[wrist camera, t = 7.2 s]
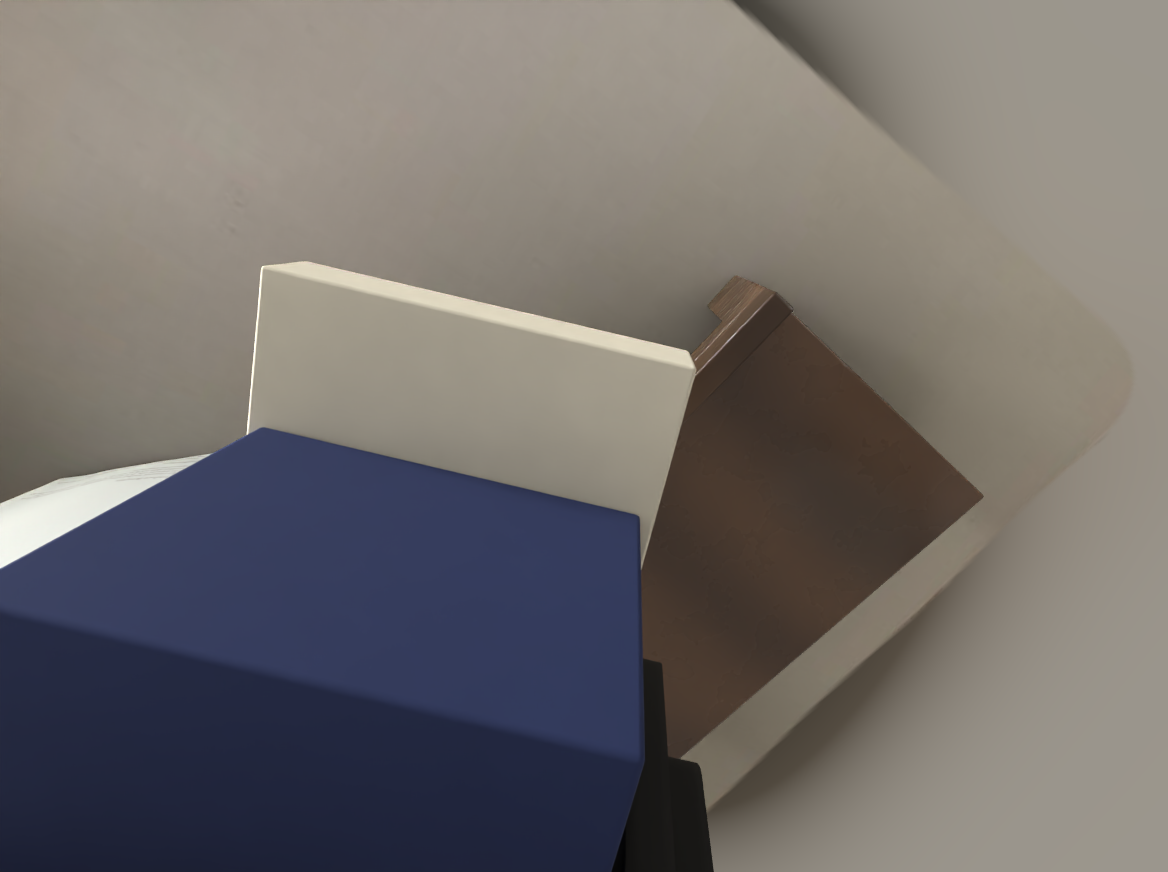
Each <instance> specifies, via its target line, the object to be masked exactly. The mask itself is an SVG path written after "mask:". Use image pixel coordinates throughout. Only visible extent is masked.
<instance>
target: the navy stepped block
mask: <svg viewBox="0 0 1168 872" xmlns="http://www.w3.org/2000/svg"><path fill="white" fill-rule="evenodd" d="M695 374H696V367H695V365H694V362H693V360H692V358H691V356H690V353H689V352H688V351H687V350H682V349H678V348H674V347H669V346H665V345H661V344H657V343H652V342H648V341H644V340H640V339H635V338H631V337H627V336H623V335H618V334H614V333H610V332H606V331H601V330H597V329H593V328H589V327H584V326H580V325H576V324H572V323H567V322H563V321H559V320H554V319H550V318H546V317H542V316H537V315H533V314H529V313H525V312H520V311H516V310H512V309H508V308H503V307H499V306H495V305H491V304H486V303H482V302H478V301H474V300H469V299H465V298H461V297H457V296H452V295H448V294H444V293H439V292H435V291H431V290H427V289H422V288H418V287H414V286H410V285H405V284H401V283H397V282H393V281H388V280H384V279H380V278H376V277H371V276H367V275H363V274H359V273H354V272H350V271H346V270H342V269H337V268H333V267H329V266H324V265H320V264H316V263H312V262H307V261H303V262H294V263H284V264H275V265H266V266H263V267H262V269H261V277H260V289H259V300H258V311H257V323H256V334H255V346H254V357H253V369H252V380H251V391H250V403H249V414H248V426H247V435H246V436H244V437H242V438H240V439H238V440H236V441H235V442H233V443H231V444H229V445H227V446H225V447H224V448H222V449H220V450H218V451H216V452H214V453H213V454H211V455H209V456H207V457H205V458H203V459H201V460H200V461H198V462H196V463H194V464H192V465H190V466H189V467H187V468H185V469H183V470H181V471H179V472H177V473H176V474H174V475H172V476H170V477H168V478H166V479H165V480H163V481H161V482H159V483H157V484H155V485H153V486H152V487H150V488H148V489H146V490H144V491H142V492H141V493H139V494H137V495H135V496H133V497H131V498H129V499H128V500H126V501H124V502H122V503H120V504H118V505H117V506H115V507H113V508H111V509H109V510H107V511H105V512H104V513H102V514H100V515H98V516H96V517H94V518H93V519H91V520H89V521H87V522H85V523H83V524H81V525H80V526H78V527H76V528H74V529H72V530H70V531H69V532H67V533H65V534H63V535H61V536H59V537H57V538H56V539H54V540H52V541H50V542H48V543H46V544H45V545H43V546H41V547H39V548H37V549H35V550H33V551H32V552H30V553H28V554H26V555H24V556H22V557H21V558H19V559H17V560H15V561H13V562H11V563H9V564H8V565H6V566H4V567H2V568H0V872H611V871H612V868H613V865H614V861H615V858H616V855H617V851H618V848H619V845H620V842H621V838H622V835H623V832H624V828H625V825H626V822H627V819H628V815H629V812H630V809H631V805H632V802H633V799H634V796H635V792H636V789H637V786H638V782H639V779H640V776H641V773H642V769H643V766H644V763H645V733H644V686H643V639H642V592H641V569H642V566H643V562H644V558H645V555H646V551H647V548H648V544H649V540H650V537H651V533H652V529H653V526H654V522H655V519H656V515H657V511H658V508H659V504H660V500H661V497H662V493H663V490H664V486H665V482H666V479H667V475H668V471H669V468H670V464H671V461H672V457H673V453H674V450H675V446H676V442H677V439H678V435H679V432H680V428H681V424H682V421H683V417H684V413H685V410H686V406H687V403H688V399H689V395H690V392H691V388H692V384H693V381H694V377H695Z"/></svg>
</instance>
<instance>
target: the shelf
mask: <svg viewBox="0 0 1168 872" xmlns="http://www.w3.org/2000/svg"><path fill="white" fill-rule="evenodd" d="M707 306H708V308H709V309H710V310H711V311H712V312H713V313H714V314H716V315H717V316H718V317H719V318H720V319H721V320H722V323H721V324H720V325H719V326H718V327H717V328H716V329H715V330H714V331H713V332H712V333H711V334H710V335H709V336H708V337H707V338H706V339H705V340H704V341H703V343H702V344H701V345H700V346H699V347H698V348H697V349H696V350H695V351H694V352H693V353H692V354H691V355H690V356H691V358H692V360H693V362H694V365H695V367H696V374H695V377H694V381H693V384H692V388H691V392H690V395H689V399H688V403H687V406H686V410H685V413H684V417H683V421H682V424H681V428H680V432H679V435H678V439H677V442H676V446H675V450H674V453H673V457H672V461H671V464H670V468H669V471H668V475H667V479H666V482H665V486H664V490H663V493H662V497H661V500H660V504H659V508H658V511H657V515H656V519H655V522H654V526H653V529H652V533H651V537H650V540H649V544H648V548H647V551H646V555H645V558H644V562H643V566H642V569H641V592H642V639H643V658H644V659H648V660H652V661H656V662H660V663H662V669H663V685H664V700H665V716H666V731H667V746H668V756H669V757H673V758H677V759H680V758H681V757H682V756H683V755H685V754H686V753H687V752H688V751H689V750H690V749H692V748H693V747H694V746H695V745H696V744H697V743H699V742H700V741H701V740H702V739H703V738H704V737H706V736H707V735H708V734H709V733H710V732H711V731H713V730H714V729H715V728H716V727H717V726H718V725H719V724H721V723H722V722H723V721H724V720H725V719H726V718H728V717H729V716H730V715H731V714H732V713H733V712H735V711H736V710H737V709H738V708H739V707H740V706H742V705H743V704H744V703H745V702H746V701H747V700H749V699H750V698H751V697H752V696H753V695H754V694H756V693H757V692H758V691H759V690H760V689H761V688H763V687H764V686H765V685H766V684H767V683H768V682H770V681H771V680H772V679H773V678H774V677H775V676H776V675H778V674H779V673H780V672H781V671H782V670H783V669H785V668H786V667H787V666H788V665H789V664H790V663H792V662H793V661H794V660H795V659H796V658H797V657H799V656H800V655H801V654H802V653H803V652H804V651H806V650H807V649H808V648H809V647H810V646H811V645H813V644H814V643H815V642H816V641H817V640H818V639H820V638H821V637H822V636H823V635H824V634H825V633H827V632H828V631H829V630H830V629H831V628H832V627H833V626H835V625H836V624H837V623H838V622H839V621H840V620H842V619H843V618H844V617H845V616H846V615H847V614H849V613H850V612H851V611H852V610H853V609H854V608H856V607H857V606H858V605H859V604H860V603H861V602H863V601H864V600H865V599H866V598H867V597H868V596H870V595H871V594H872V593H873V592H874V591H875V590H877V589H878V588H879V587H880V586H881V585H882V584H883V583H885V582H886V581H887V580H888V579H889V578H890V577H892V576H893V575H894V574H895V573H896V572H897V571H899V570H900V569H901V568H902V567H903V566H904V565H906V564H907V563H908V562H909V561H910V560H911V559H913V558H914V557H915V556H916V555H917V554H918V553H920V552H921V551H922V550H923V549H924V548H925V547H927V546H928V545H929V544H930V543H931V542H932V541H934V540H935V539H936V538H937V537H938V536H939V535H940V534H942V533H943V532H944V531H945V530H946V529H947V528H949V527H950V526H951V525H952V524H953V523H954V522H956V521H957V520H958V519H959V518H960V517H961V516H963V515H964V514H965V513H966V512H967V511H968V510H970V509H971V508H972V507H973V506H974V505H975V504H977V503H978V502H979V501H980V500H981V499H982V498H983V497H984V496H983V494H982V493H981V492H979V491H978V490H977V489H976V488H975V487H974V486H973V485H972V484H971V483H970V482H969V481H968V480H967V479H966V478H965V477H964V476H963V475H962V474H961V473H960V472H959V471H957V470H956V469H955V468H954V467H953V466H952V465H951V464H950V463H949V462H948V461H947V460H946V459H945V458H944V457H943V456H942V455H941V454H940V453H939V452H938V451H937V450H935V449H934V448H933V447H932V446H931V445H930V444H929V443H928V442H927V441H926V440H925V439H924V438H923V437H922V436H921V435H920V434H919V433H918V432H917V431H916V430H915V429H914V428H912V427H911V426H910V425H909V424H908V423H907V422H906V421H905V420H904V419H903V418H902V417H901V416H900V415H899V414H898V413H897V412H896V411H895V410H894V409H893V408H892V407H890V406H889V405H888V404H887V403H886V402H885V401H884V400H883V399H882V398H881V397H880V396H879V395H878V394H877V393H876V392H875V391H874V390H873V389H872V388H871V387H870V386H868V385H867V384H866V383H865V382H864V381H863V380H862V379H861V378H860V377H859V376H858V375H857V374H856V373H855V372H854V371H853V370H852V369H851V368H850V367H849V366H848V365H847V364H845V363H844V362H843V361H842V360H841V359H840V358H839V357H838V356H837V355H836V354H835V353H834V352H833V351H832V350H831V349H830V348H829V347H828V346H827V345H826V344H825V343H823V342H822V341H821V340H820V339H819V338H818V337H817V336H816V335H815V334H814V333H813V332H812V331H811V330H810V329H809V328H808V327H807V326H806V325H805V324H804V323H803V322H801V321H800V320H799V319H798V318H797V317H796V316H795V315H794V314H793V313H792V312H793V307H792V306H791V305H790V304H789V303H787V302H786V301H785V300H784V299H783V298H782V297H781V296H780V295H779V294H778V293H777V292H774V291H772V290H770V289H767V288H765V287H763V286H761V285H759V284H756V283H754V282H751V281H749V280H747V279H744V278H742V277H740V276H737V275H735V276H734V277H733V278H732V279H731V280H730V281H729V282H728V284H727V285H726V286H725V287H724V288H723V289H722V290H721V291H720V292H719V293H718V294H717V295H716V296H715V297H714V299H713V300H712V301H711V302H710V303H709V304H708V305H707Z"/></svg>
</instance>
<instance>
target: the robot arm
mask: <svg viewBox="0 0 1168 872" xmlns="http://www.w3.org/2000/svg"><path fill="white" fill-rule="evenodd" d="M643 686H644V733H645V763H644V766H643V769H642V773H641V776H640V779H639V782H638V786H637V789H636V792H635V796H634V799H633V802H632V805H631V809H630V812H629V815H628V819H627V822H626V825H625V828H624V832H623V835H622V838H621V842H620V845H619V848H618V851H617V855H616V858H615V861H614V865H613V868H612V871H611V872H714V871H713V863H712V855H711V846H710V838H709V830H708V822H707V814H706V806H705V798H704V790H703V781H702V774H701V770H700V767H699V765H698V764H697V763H694V762H690V761H686V760H681V759H677V758H673V757H669V756H668V746H667V731H666V716H665V700H664V685H663V669H662V663H660V662H656V661H652V660H648V659H644V658H643Z"/></svg>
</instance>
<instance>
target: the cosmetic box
mask: <svg viewBox="0 0 1168 872" xmlns="http://www.w3.org/2000/svg"><path fill="white" fill-rule="evenodd" d="M212 454H213V453H212ZM209 455H211V454H206V455H199V456H193V457H186V458H180V459H174V460H167V461H160V462H154V463H148V464H143V465H136V466H130V467H124V468H118V469H112V470H107V471H102V472H99V473H95V474H90V475H84V476H77V477H68V478H61V479H58V480H56V481H53V482H51V483H49V484H46V485H44V486H42V487H39V488H37V489H34V490H32V491H29V492H27V493H24V494H22V495H20V496H17V497H15V498H12V499H10V500H7V501H5V502H3V503H0V568H2V567H4V566H6V565H8V564H9V563H11V562H13V561H15V560H17V559H19V558H21V557H22V556H24V555H26V554H28V553H30V552H32V551H33V550H35V549H37V548H39V547H41V546H43V545H45V544H46V543H48V542H50V541H52V540H54V539H56V538H57V537H59V536H61V535H63V534H65V533H67V532H69V531H70V530H72V529H74V528H76V527H78V526H80V525H81V524H83V523H85V522H87V521H89V520H91V519H93V518H94V517H96V516H98V515H100V514H102V513H104V512H105V511H107V510H109V509H111V508H113V507H115V506H117V505H118V504H120V503H122V502H124V501H126V500H128V499H129V498H131V497H133V496H135V495H137V494H139V493H141V492H142V491H144V490H146V489H148V488H150V487H152V486H153V485H155V484H157V483H159V482H161V481H163V480H165V479H166V478H168V477H170V476H172V475H174V474H176V473H177V472H179V471H181V470H183V469H185V468H187V467H189V466H190V465H192V464H194V463H196V462H198V461H200V460H201V459H203V458H205V457H207V456H209Z"/></svg>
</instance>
